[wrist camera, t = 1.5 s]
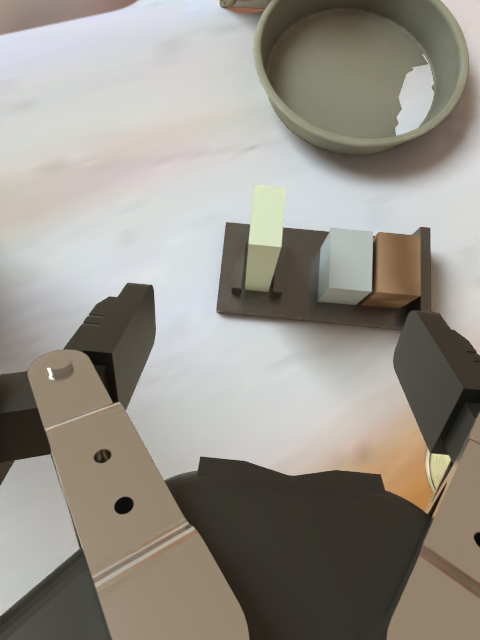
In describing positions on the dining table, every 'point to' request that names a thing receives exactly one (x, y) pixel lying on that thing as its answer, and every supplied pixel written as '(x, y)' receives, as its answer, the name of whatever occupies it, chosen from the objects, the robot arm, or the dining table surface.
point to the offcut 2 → (394, 271)
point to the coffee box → (245, 3)
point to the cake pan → (356, 67)
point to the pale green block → (264, 236)
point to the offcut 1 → (345, 266)
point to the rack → (305, 283)
